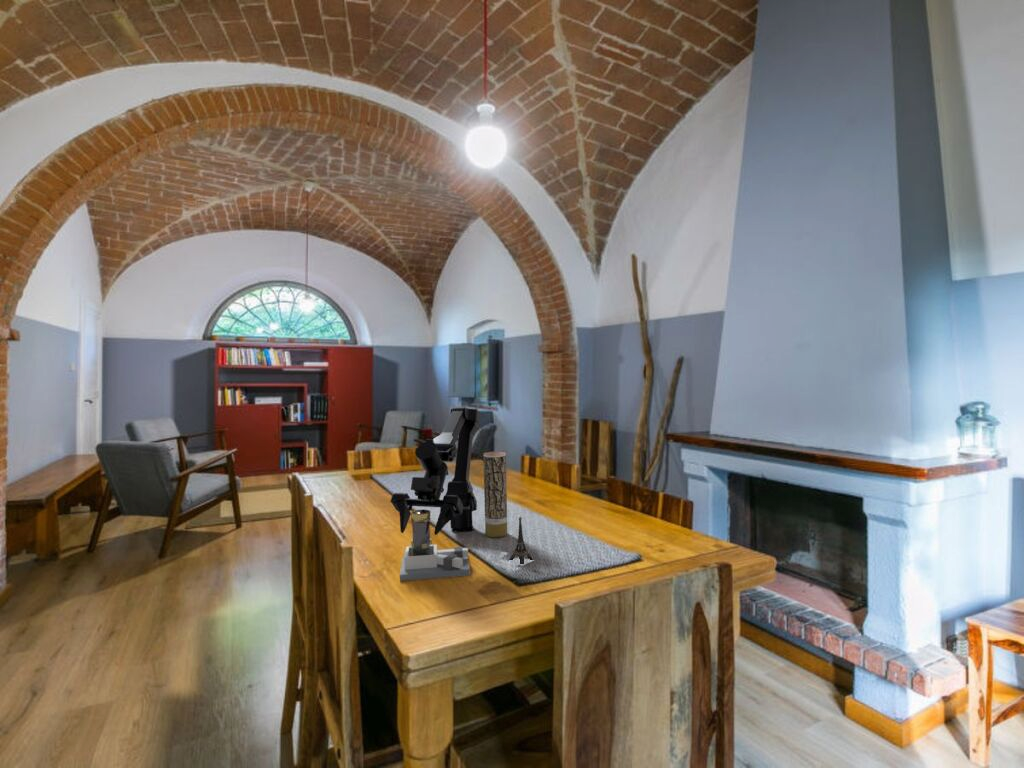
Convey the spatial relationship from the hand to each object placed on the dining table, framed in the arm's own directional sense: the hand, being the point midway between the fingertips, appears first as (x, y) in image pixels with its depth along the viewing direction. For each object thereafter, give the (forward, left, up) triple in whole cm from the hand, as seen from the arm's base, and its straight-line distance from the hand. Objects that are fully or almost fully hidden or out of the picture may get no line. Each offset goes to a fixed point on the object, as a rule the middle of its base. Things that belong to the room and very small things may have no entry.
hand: (418, 533), depth 129 cm
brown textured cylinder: (-23, -23, -10) cm, 34 cm away
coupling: (-1, -1, -8) cm, 8 cm away
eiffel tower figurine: (-26, -1, -10) cm, 28 cm away
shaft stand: (-4, -1, -10) cm, 10 cm away
